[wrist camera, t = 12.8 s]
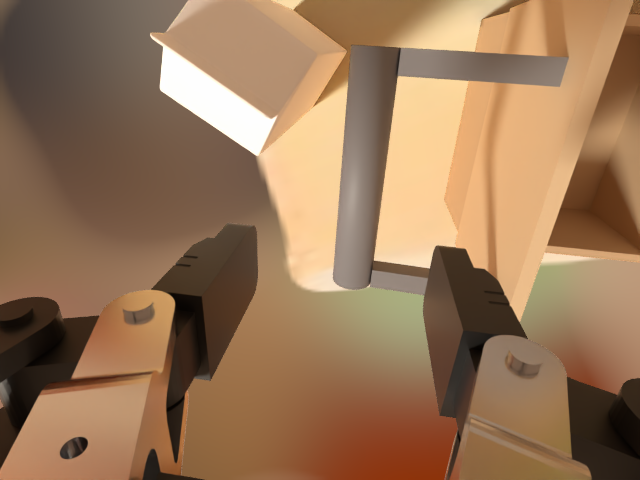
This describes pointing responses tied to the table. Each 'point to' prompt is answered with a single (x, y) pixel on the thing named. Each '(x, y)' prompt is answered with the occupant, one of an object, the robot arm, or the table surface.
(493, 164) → the carton flap
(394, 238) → the table surface
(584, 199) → the carton
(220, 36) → the milk
